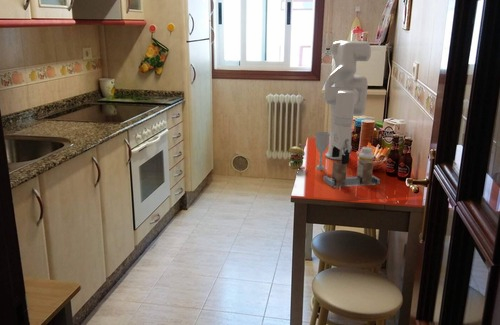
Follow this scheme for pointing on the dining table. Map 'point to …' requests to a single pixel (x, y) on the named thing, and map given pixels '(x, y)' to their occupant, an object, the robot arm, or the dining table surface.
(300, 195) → the dining table surface
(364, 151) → the supplement bottle
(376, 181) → the rail
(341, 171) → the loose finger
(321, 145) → the chalice
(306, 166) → the dining table surface
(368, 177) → the mounted finger
